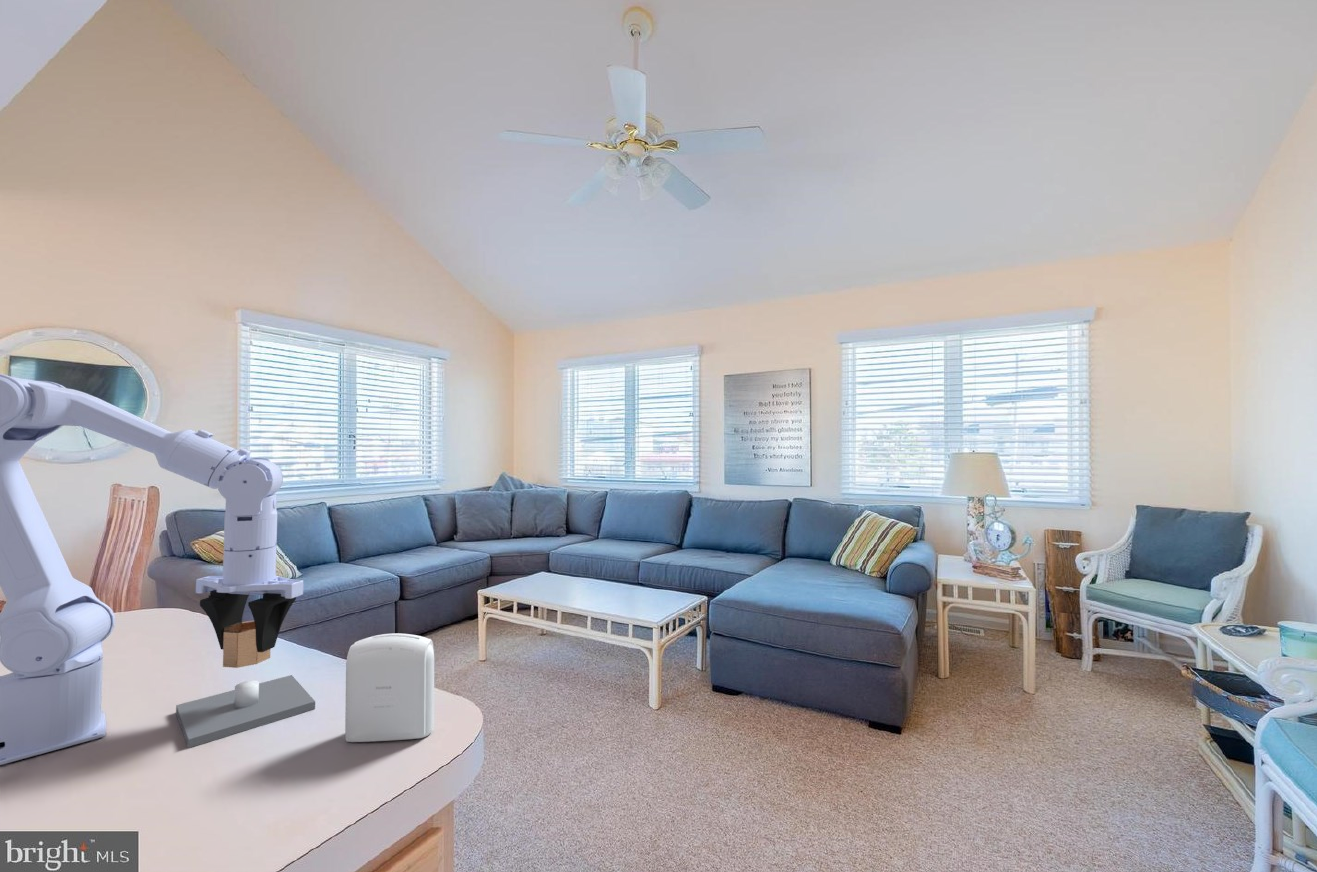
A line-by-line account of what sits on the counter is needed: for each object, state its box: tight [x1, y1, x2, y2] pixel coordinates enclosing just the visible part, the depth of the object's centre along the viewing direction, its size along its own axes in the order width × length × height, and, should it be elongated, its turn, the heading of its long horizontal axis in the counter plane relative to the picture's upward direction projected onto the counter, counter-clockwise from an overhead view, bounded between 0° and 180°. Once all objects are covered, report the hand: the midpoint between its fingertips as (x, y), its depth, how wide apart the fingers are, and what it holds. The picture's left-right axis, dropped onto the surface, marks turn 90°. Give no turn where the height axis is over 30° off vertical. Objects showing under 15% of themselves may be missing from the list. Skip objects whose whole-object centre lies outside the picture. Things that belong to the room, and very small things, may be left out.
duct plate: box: [175, 674, 316, 749], centre depth 71 cm, size 13×12×4 cm
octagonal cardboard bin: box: [222, 619, 271, 669], centre depth 71 cm, size 5×5×4 cm
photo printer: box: [344, 632, 435, 743], centre depth 66 cm, size 10×4×12 cm, turn 96°
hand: (247, 648), depth 72 cm, fingers closed on octagonal cardboard bin, 5 cm apart
